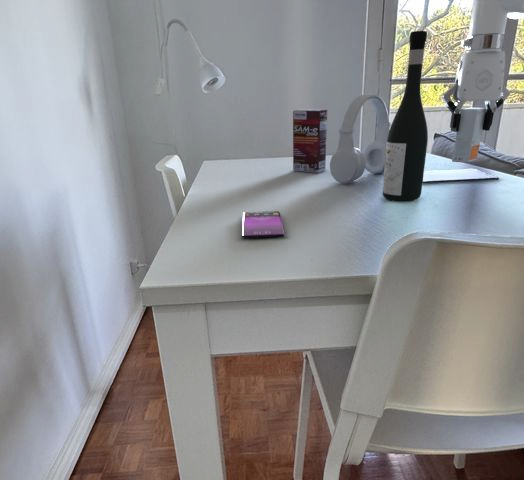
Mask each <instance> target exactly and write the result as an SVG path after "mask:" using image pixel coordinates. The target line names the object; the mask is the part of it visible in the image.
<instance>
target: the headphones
mask: <svg viewBox="0 0 524 480" xmlns="http://www.w3.org/2000/svg"><path fill="white" fill-rule="evenodd" d="M367 101H370V102H371V104H372V106H373V108H374V111H375V115H376V121H377V122H376V127H377V128H376V132H375V133H376V134H375V138H374V140H373V142H371V143H369V144H367V145H366V147H365V148H364V149H363V152H362V150H360V149H359V148H357V147H354V134H355V129H354V128H355V124H356V121H357V117H358V115H359V113H360V111H361V109H362V107H363V106H364V104H365V103H366V102H367ZM391 125H392V122H390V117H389V111H388V107H387V105H386V103H385V101H384V99H383V98H382V97H381V96H380V95H378V94H360V95H358V96H357V97H355V98H354V99H353V100H352V101H351V103H350V104H349V106H348V107H347V109H346V111H345V114H344V117H343V120H342V123H341V127H340V128H339V129H338V134H339V139H338V144H337V148H336V150H335V152H333V154H332V156H331V158H330V161H329V171H330V174H331V176H332V178H333V180H335V181H336V182H337V183H340V184H343V185H346V184H351V183H353V182H355V181H357V180H358V179H360V178H361V177H362V176H363V174H364V173H365V170H366V171H367V172H369V173H371V174H373V175H374V174H375V175H377V174H384V169H385V157H386V146H387V139H388V134H389V131H390V127H391Z"/></svg>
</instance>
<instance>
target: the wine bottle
mask: <svg viewBox="0 0 524 480" xmlns="http://www.w3.org/2000/svg"><path fill="white" fill-rule="evenodd" d="M427 40H428V31H426V30H414V31H411V32H410V33H409V52H408V63H407V72H406V73H407V74H406V82H405V89H404V93H403V96H402V99H401V101H400V104H399V107H398V108H397V111H396V113H395V115H394V118H393V120H392V122H391V126H390V127H389V128H390V130H389V134H388V139H387V146H386V157H385V169H384V173H383V180H382V181H383V182H382V196H383V198H384V199H385V200H387V201H391V202H399V203H407V202H409V203H410V202H413V201H416V200H418V199H419V198H420V197H421V195H422V189H423V184H424V183H423V175H424V171H425V167H426V159H427V151H428V150H427V149H428V143H429V131H428V130H429V129H428V123H427V118H426V115H425V110H424V107H423V101H422V94H421V93H422V92H421V83H422V73H423V64H424V57H425V56H424V55H425V48H426V43H427ZM422 183H423V184H422Z"/></svg>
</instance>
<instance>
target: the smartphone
mask: <svg viewBox="0 0 524 480" xmlns="http://www.w3.org/2000/svg"><path fill="white" fill-rule="evenodd" d="M281 237H285V231H284V226H283V221H282V216H281V212H280V211H279V210H269V211H268V210H267V211H266V210H265V211H245V212H243V213H242V223H241V238H243V239H253V238H254V239H255V238H281Z"/></svg>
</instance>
